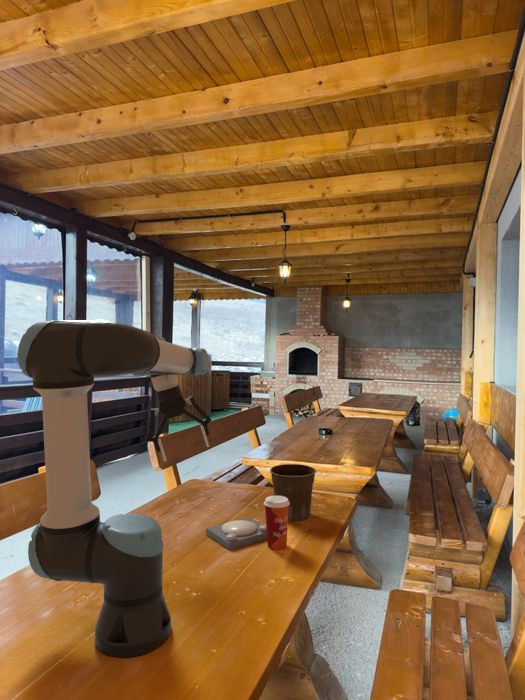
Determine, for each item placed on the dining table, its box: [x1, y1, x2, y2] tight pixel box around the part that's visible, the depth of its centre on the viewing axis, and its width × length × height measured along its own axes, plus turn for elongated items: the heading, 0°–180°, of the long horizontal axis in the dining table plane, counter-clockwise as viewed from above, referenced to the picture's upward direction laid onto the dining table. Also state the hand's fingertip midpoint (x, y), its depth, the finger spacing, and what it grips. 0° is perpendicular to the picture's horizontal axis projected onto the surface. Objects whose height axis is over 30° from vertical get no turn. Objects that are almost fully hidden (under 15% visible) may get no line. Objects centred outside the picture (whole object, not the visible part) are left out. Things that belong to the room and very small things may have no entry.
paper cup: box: [263, 495, 290, 551], centre depth 140 cm, size 8×8×14 cm
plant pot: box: [269, 463, 317, 522], centre depth 165 cm, size 16×16×16 cm
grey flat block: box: [205, 517, 267, 551], centre depth 147 cm, size 16×14×3 cm
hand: (186, 453), depth 145 cm, fingers open, 13 cm apart
